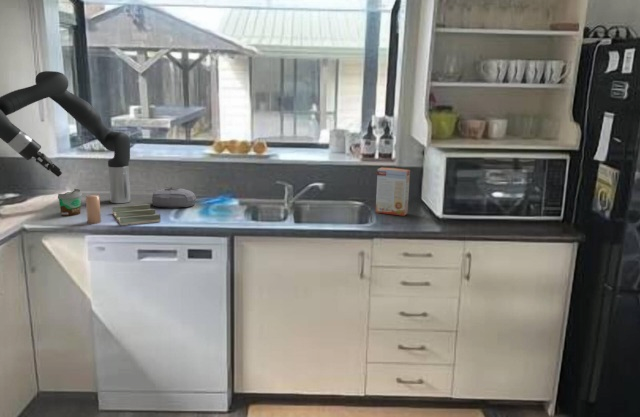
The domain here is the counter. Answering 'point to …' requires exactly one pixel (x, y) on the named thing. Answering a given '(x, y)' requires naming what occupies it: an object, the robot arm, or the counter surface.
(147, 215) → the comb board
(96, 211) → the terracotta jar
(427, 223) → the counter surface
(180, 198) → the soft grey pack
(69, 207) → the food container
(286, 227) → the counter surface
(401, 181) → the cracker box
